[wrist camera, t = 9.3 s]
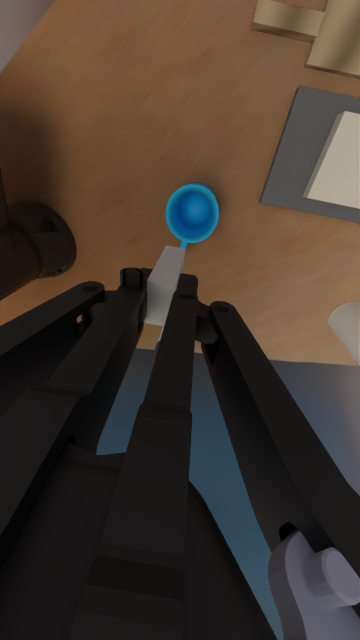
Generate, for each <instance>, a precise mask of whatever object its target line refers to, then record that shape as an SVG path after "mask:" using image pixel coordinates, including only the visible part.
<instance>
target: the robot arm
mask: <svg viewBox="0 0 360 640" xmlns="http://www.w3.org/2000/svg"><path fill="white" fill-rule="evenodd" d="M185 250H186V248H180V247H174V246H167V245H166V247H165V249H164V251H163V252H162V254H161V256H160V258H159V260H158V262H157V263H156V265H155V267H154V269H148V268H141V269H139V268H132V267H130V268H124V269H122V270H120V281H121V285H120V286H119V288H118V289H117V290H114V291H105V290H104V285H103V284H101V283H99V282H95V281H92V282H91V281H88V282H84V283H81V284H79V285H77V286H75V287H73V288H71V289H69V290H67V291H65V292H64V293H62V294H60V295H58V296H56V297H54V298H52V299H50V300H48V301H47V302H45V303H43V304H41V305H39V306H37V307H35V308H33V309H32V310H30V311H28V312H26V313H24V314H22V315H20V316H18V317H16V318H15V319H13V320H11V321H9V322H7V323H5V324H3V325H1V326H0V640H277V638H276V636H275V634H274V632H273V630H272V628H271V626H270V625H269V623H268V621H267V619H266V617H265V615H264V613H263V611H262V609H261V607H260V605H259V603H258V602H257V600H256V598H255V596H254V594H253V592H252V590H251V588H250V586H249V584H248V583H247V581H246V579H245V577H244V575H243V573H242V571H241V569H240V567H239V565H238V563H237V561H236V559H235V558H234V556H233V554H232V552H231V550H230V548H229V546H228V544H227V542H226V540H225V539H224V536H223V535H222V533H221V531H220V529H219V527H218V525H217V523H216V521H215V519H214V517H213V515H212V514H211V512H210V510H209V508H208V506H207V504H206V502H205V501H204V499H203V497H202V496H201V495H200V493H199V492H198V490H197V489H196V488H195V487H194V486H193V484H192V483H191V482H190V481H189V465H190V446H191V430H192V413H190V404H191V390H192V375H193V361H194V360H193V359H194V346H195V340H197V341H199V342H201V348H202V352H203V355H204V358H205V361H206V364H207V367H208V370H209V374H210V376H211V380H212V383H213V386H214V389H215V393H216V396H217V399H218V402H219V405H220V408H221V411H222V414H223V417H224V421H225V424H226V426H227V430H228V433H229V437H230V439H231V443H232V446H233V449H234V452H235V455H236V459H237V461H238V465H239V468H240V471H241V474H242V477H243V481H244V484H245V487H246V490H247V493H248V496H249V499H250V502H251V505H252V508H253V510H254V513H255V516H256V519H257V521H258V524H259V526H260V529H261V531H262V533H263V535H264V537H265V539H266V542H267V544H268V546H269V548H270V550H271V552H272V554H271V556H270V559H269V563H268V579H269V585H270V590H271V593H272V595H273V599H274V601H275V604H276V607H277V610H278V613H279V616H280V619H281V624H282V630H283V635H284V640H360V496H359V495H358V494H357V493H356V492H355V491H354V490H353V488H351V486H350V485H349V484H348V483H347V482H346V480H345V478H344V477H343V475H342V474H341V472H340V471H339V469H338V467H337V466H336V465H335V463H334V461H333V460H332V458H331V457H330V455H329V454H328V452H327V450H326V449H325V447H324V446H323V444H322V443H321V441H320V440H319V438H318V436H317V435H316V433H315V432H314V430H313V429H312V427H311V425H310V424H309V422H308V421H307V419H306V418H305V416H304V414H303V413H302V411H301V410H300V409H299V407H298V405H297V404H296V402H295V401H294V399H293V397H292V396H291V394H290V393H289V391H288V390H287V388H286V386H285V385H284V383H283V382H282V380H281V379H280V377H279V376H278V374H277V373H276V371H275V369H274V368H273V366H272V365H271V363H270V361H269V360H268V358H267V357H266V355H265V354H264V352H263V351H262V349H261V347H260V346H259V344H258V343H257V341H256V340H255V338H254V337H253V335H252V333H251V332H250V330H249V329H248V327H247V326H246V324H245V323H244V321H243V319H242V318H241V316H240V315H239V313H238V312H237V310H236V308H235V307H234V306H233V305H231V304H229V303H227V302H224V301H215V302H212V303H211V304H210V306H208V305H205V304H203V303H201V302H200V301H199V300H198V296H197V286H198V279H197V277H196V276H195V275H189V274H182V271H183V264H184V257H185ZM75 257H76V246H75V241H74V238H73V235H72V233H71V231H70V229H69V227H68V226H67V224H66V223H65V222H64V220H63V219H62V218H61V217H60V216H59V215H58V214H57V213H56V212H55V211H53V210H52V209H50V208H49V207H47V206H46V205H43V204H41V203H39V202H35V201H19V202H14V203H11V204H9V205H7V201H6V196H5V190H4V185H3V180H2V174H1V169H0V300H2V299H3V298H5V297H7V296H8V295H10V294H12V293H13V292H15V291H17V290H18V289H20V288H21V287H23V286H25V285H26V284H28V283H30V282H31V281H33V280H35V279H40V278H49V277H55V276H58V275H60V274H62V273H64V272H65V271H67V270H68V269H69V268H70V267H71V266H72V265H73V263H74V260H75ZM79 315H81V320H82V321H80V322H79V323H77V319H76V318H77V317H78V316H79ZM145 317H146V320H145V323H147V324H154V325H160V326H164V329H163V333H162V336H161V340H160V344H159V347H158V351H157V355H156V358H155V362H154V365H153V369H152V373H151V376H150V380H149V384H148V387H147V391H146V394H145V398H144V401H143V404H142V405H140V407H139V410H138V413H137V416H136V419H135V423H134V426H133V430H132V433H131V437H130V440H129V444H128V447H127V450H126V453H116V454H108V455H96V451H97V445H98V441H99V439H100V436H101V434H102V431H103V429H104V426H105V423H106V421H107V418H108V416H109V413H110V411H111V408H112V406H113V403H114V401H115V398H116V396H117V393H118V391H119V388H120V386H121V383H122V381H123V378H124V376H125V373H126V371H127V368H128V366H129V363H130V360H131V358H132V356H133V353H134V350H135V348H136V345H137V343H138V340H139V338H140V335H141V333H142V330H143V326H144V319H145Z"/></svg>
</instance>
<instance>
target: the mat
mask: <svg viewBox="0 0 360 640" xmlns="http://www.w3.org/2000/svg"><path fill="white" fill-rule="evenodd" d="M344 111H347V112H352V113H357V114H360V98H355V97H350V96H346V95H341V94H336V93H331V92H326V91H321V90H316V89H311V88H306V87H301V86H299V87H298V88H297V90H296V93H295V96H294V99H293V102H292V105H291V108H290V111H289V114H288V117H287V120H286V123H285V126H284V129H283V132H282V135H281V138H280V141H279V144H278V147H277V150H276V153H275V156H274V159H273V162H272V165H271V168H270V171H269V174H268V177H267V180H266V183H265V186H264V189H263V192H262V195H261V198H260V201H259V202H260V203H265V204H269V205H274V206H279V207H284V208H289V209H294V210H299V211H303V212H308V213H313V214H318V215H323V216H328V217H333V218H338V219H342V220H347V221H352V222H357V223H360V209H359V208H354V207H349V206H344V205H339V204H334V203H329V202H324V201H320V200H315V199H310V198H305V197H302V196H303V194H304V192H305V189H306V187H307V185H308V182H309V180H310V178H311V175H312V173H313V171H314V168H315V166H316V164H317V161H318V159H319V157H320V154H321V152H322V150H323V147H324V145H325V143H326V140H327V138H328V135H329V133H330V131H331V128H332V126H333V124H334V121H335V119H336V117H337V115H338V114H340V113H342V112H344Z"/></svg>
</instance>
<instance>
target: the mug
mask: <svg viewBox="0 0 360 640" xmlns="http://www.w3.org/2000/svg"><path fill="white" fill-rule="evenodd" d="M218 218H219V209H218V202H217V199H216V196H215V194H214V192H213V191H212V190H211V189H210V188H209V187H208V186H206V185H204V184H201V183H191V184H187V185H184V186H182V187H181V188H179V189H178V190H176V191H175V192H174V193H173V195H172V196H171V197H170V199H169V201H168V204H167V206H166V220H167V225H168V227H169V229H170V231H171V232H172V233H173V234H174V235H175V236H176V238H178V239H180V240H181V242H180V245H179V247H180V248H187V245H188V243H196V242H200V241H202V240H204V239H206V238H207V237H208V236H209V235H210V234H212V233H213V231H214V229H215V227H216V225H217V222H218ZM185 251H186V250H185Z"/></svg>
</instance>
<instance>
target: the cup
mask: <svg viewBox="0 0 360 640" xmlns="http://www.w3.org/2000/svg"><path fill="white" fill-rule="evenodd" d="M328 325H329V327H330V328H331V330H332V331H333V332H334V333H335V335H336V336H337V337H338V339H339V340H340V341H341V342H342V344H343V345H344V346H345V348H346V349H347V350H348V351H349V353H350V354H351V355H352V357H353V358H354V359H355V360H356V362H357V363H358V364H359V366H360V301H352V302H347V303H344V304H342V305H340V306H338V307H337V308H336V309H334V310H333V311H332V313H331V314H330V316H329V318H328Z"/></svg>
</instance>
